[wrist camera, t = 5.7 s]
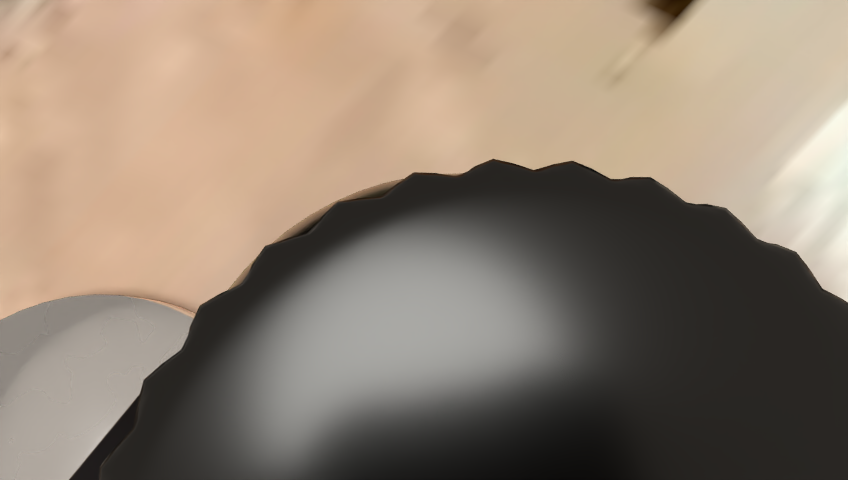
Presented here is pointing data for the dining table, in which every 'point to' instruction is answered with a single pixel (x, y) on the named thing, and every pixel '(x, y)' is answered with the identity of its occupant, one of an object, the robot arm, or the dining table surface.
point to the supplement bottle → (505, 344)
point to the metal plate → (76, 376)
